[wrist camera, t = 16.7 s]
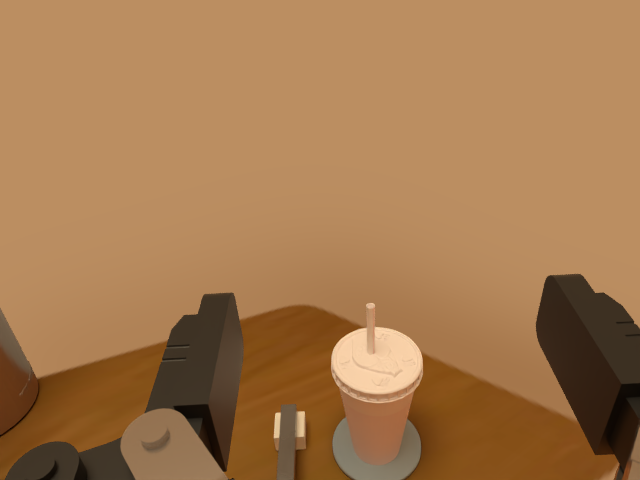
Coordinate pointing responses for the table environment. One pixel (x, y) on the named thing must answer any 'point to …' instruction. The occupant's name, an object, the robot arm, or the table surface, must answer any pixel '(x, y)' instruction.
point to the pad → (377, 476)
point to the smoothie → (376, 387)
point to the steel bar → (287, 443)
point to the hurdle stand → (300, 430)
